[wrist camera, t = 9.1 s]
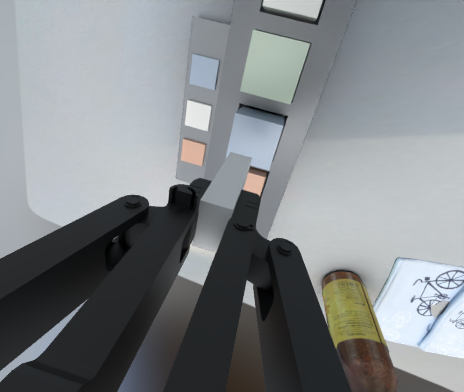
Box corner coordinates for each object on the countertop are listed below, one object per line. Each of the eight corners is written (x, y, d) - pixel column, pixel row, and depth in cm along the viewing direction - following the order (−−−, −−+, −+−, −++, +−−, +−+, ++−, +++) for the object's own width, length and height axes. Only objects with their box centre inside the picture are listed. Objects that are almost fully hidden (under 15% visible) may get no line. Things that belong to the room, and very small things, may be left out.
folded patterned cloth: (480, 356, 40) (490, 371, 38) (353, 328, 43) (355, 340, 41) (566, 276, 31) (584, 290, 29) (395, 247, 34) (401, 257, 32)
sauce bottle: (312, 282, 39) (330, 452, 22) (343, 262, 36) (391, 442, 19) (342, 303, 40) (381, 482, 23) (374, 285, 37) (447, 477, 20)
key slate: (284, 117, 26) (283, 125, 22) (271, 157, 28) (269, 170, 24) (242, 105, 26) (235, 112, 22) (233, 146, 28) (225, 158, 25)
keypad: (380, -76, 19) (394, -97, 17) (259, 248, 38) (257, 261, 35) (214, -111, 20) (203, -135, 18) (175, 222, 39) (167, 233, 36)
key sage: (307, 46, 22) (310, 43, 19) (290, 98, 25) (290, 104, 21) (258, 34, 23) (253, 29, 19) (246, 87, 25) (239, 91, 21)
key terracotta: (268, 164, 31) (265, 177, 27) (258, 194, 33) (255, 210, 30) (233, 154, 31) (226, 166, 28) (226, 185, 34) (219, 199, 30)
